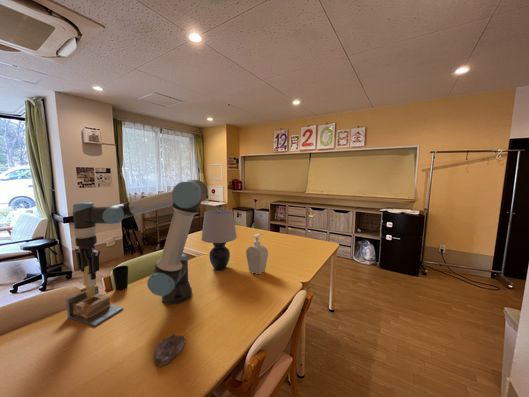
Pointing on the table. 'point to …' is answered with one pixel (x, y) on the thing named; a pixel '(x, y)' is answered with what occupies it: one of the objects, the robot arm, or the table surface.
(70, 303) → the dark grey angled piece
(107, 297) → the block
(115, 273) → the cup
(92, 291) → the dowel
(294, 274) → the table surface
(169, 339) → the rock
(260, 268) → the soap bottle
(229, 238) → the lamp
